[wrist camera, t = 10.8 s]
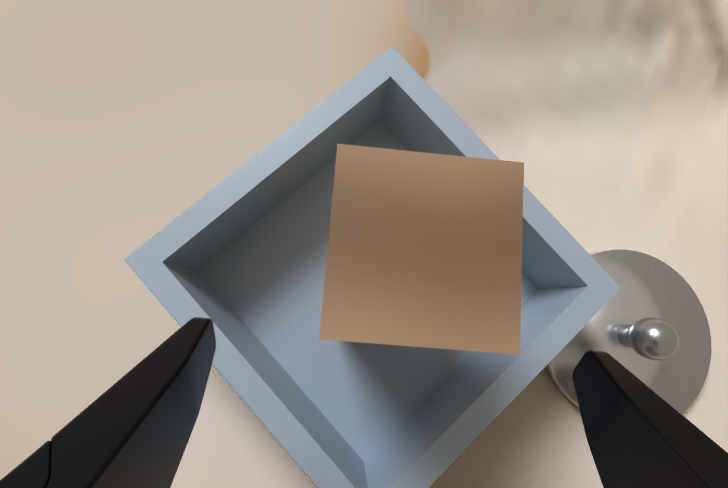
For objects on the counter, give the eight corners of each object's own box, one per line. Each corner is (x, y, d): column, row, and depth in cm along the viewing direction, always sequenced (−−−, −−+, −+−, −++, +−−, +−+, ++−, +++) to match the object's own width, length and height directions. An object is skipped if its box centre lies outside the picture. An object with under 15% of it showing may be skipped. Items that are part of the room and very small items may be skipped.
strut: (410, 323, 20) (520, 354, 8) (329, 317, 20) (319, 339, 8) (415, 244, 20) (524, 162, 9) (337, 237, 20) (337, 143, 8)
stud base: (626, 463, 20) (679, 492, 17) (503, 329, 21) (533, 333, 18) (733, 340, 22) (801, 347, 18) (615, 217, 22) (661, 203, 19)
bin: (361, 486, 19) (369, 549, 14) (176, 270, 20) (124, 259, 15) (555, 291, 21) (621, 288, 16) (379, 103, 22) (392, 46, 17)
